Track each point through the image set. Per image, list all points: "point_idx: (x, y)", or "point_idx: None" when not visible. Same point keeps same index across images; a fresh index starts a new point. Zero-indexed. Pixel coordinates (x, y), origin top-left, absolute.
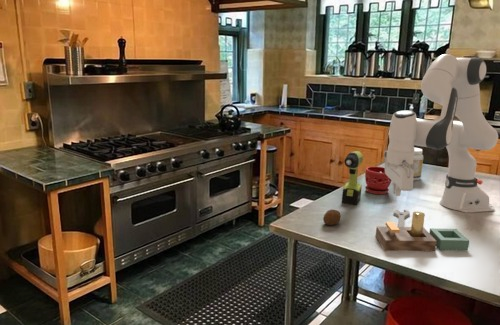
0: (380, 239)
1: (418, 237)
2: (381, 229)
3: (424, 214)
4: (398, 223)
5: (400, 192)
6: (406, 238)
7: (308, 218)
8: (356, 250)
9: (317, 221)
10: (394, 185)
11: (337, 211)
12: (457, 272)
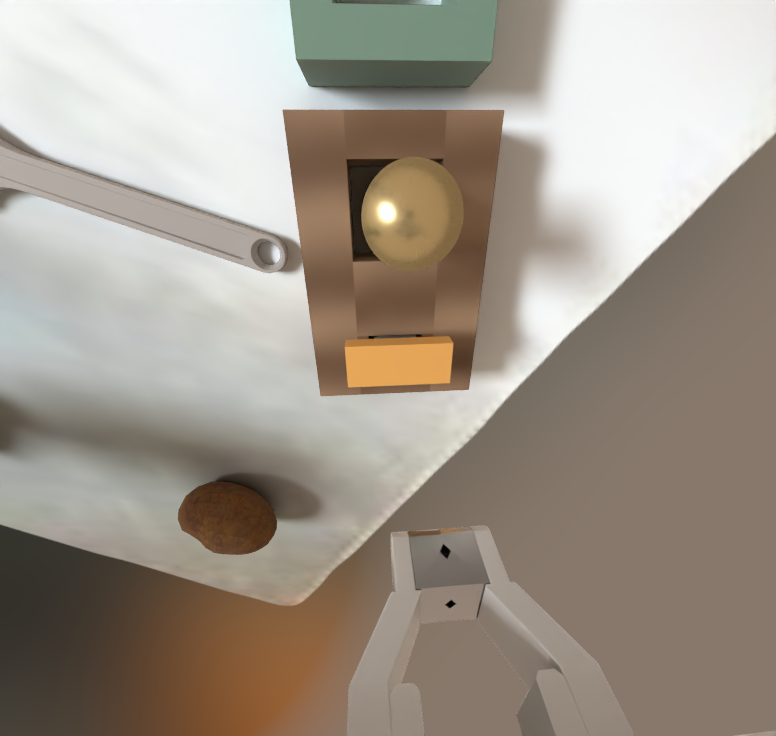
0: None
1: None
2: None
3: (435, 164)
4: (159, 233)
5: (500, 560)
6: (456, 293)
7: None
8: (451, 449)
9: None
10: (402, 676)
11: (208, 525)
12: (693, 102)
